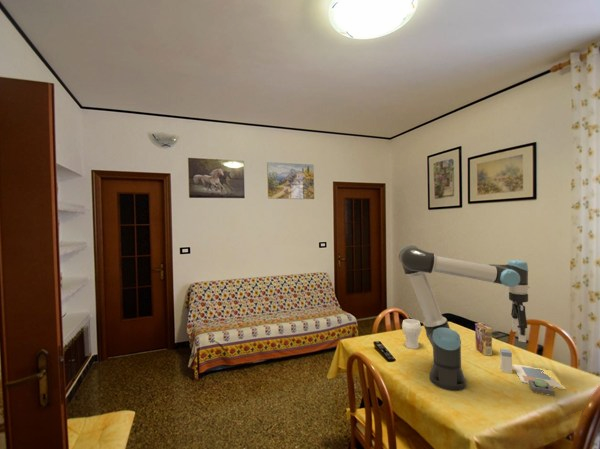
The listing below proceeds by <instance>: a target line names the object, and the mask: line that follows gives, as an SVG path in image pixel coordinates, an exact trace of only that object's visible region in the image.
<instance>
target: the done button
mask: <svg viewBox="0 0 600 449" xmlns="http://www.w3.org/2000/svg"><path fill="white" fill-rule="evenodd" d="M535 386H536V387H540V388H546V389H547V384H546V381H544V380H542V379H535Z"/></svg>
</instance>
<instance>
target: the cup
mask: <svg viewBox="0 0 600 449" xmlns="http://www.w3.org/2000/svg"><path fill="white" fill-rule="evenodd" d="M401 327H402V331H403V334H404V335H405V343H404V344H405V347H406V348H407V349H410V350H411V349H412V350H417V349H419V348H420V347H419V346H420V345H419V336H420V334H421V331H422V325H421V323H420V321H419V320H417V319H414V318H412V319H411V318H406V319H403V320H402V323H401Z"/></svg>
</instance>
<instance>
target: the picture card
mask: <svg viewBox="0 0 600 449" xmlns="http://www.w3.org/2000/svg"><path fill="white" fill-rule="evenodd" d="M512 365H513V366H512V368H513V369H514V371H515V373H516V374H517V377H518V376H519V377H518V378H520V379H519V380H520V382H521V383H522V382H524V383H523V384H528V383H529V380H533V381H535V379H542V380H544V381H546V383H548V384H549V385H550V387H551V388H552V387H557V388H556V389H558V388H563V386H561V385H560V384H559V383H558V382H556V380H555V379H554V378H552V377H549V376H548V375H546V374H544V373H543V372H544V371H543V370H540V369H534V368H532V367H533V366H529V365H522V364H513V363H512ZM542 371H543V372H542ZM541 372H542V373H541Z"/></svg>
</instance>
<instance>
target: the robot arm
mask: <svg viewBox="0 0 600 449" xmlns="http://www.w3.org/2000/svg"><path fill="white" fill-rule="evenodd" d="M398 261H399V262H400V263H401V266H402V269H403V271H404V274H405V275H406V276H407V277H409V280H410V282H411V285H412V288H413V290H414V293H415V296H416V299H417V302H418V305H419V308H420V310H421V313H422V315H423V318H424V321H423V323H422V325H423V328H424V331H425V335H426V337H427V339H428V340H429V342H430V345H431V347H432V354H433V355H432V356H433V357H432V358H433V364H432V367H431V368H430V372H429V379H430V380H429V381H430V382H431V383H432V385H434V386H436V387H438V388H441V389H443V390H447V391H462V390H464V389H465V388H466V387H467V380H466V377H465V374H464V371H463V369H462V348H461V346H462V340H461V336H460V334H459V333H458V332H457V331H456V330H454V329H452V328H450V325H449V322H448V319H447V318H446V317H445V316H443V314H442V312H441V309H440V306H439V304H438V302H437V299H436V295H435V293H434V290H433V288H432V285H431V282H430V279H429V277H428V274H433V273H434V272H435V273H439V274H445V275H450V276H454V277H462V278H467V279H472V280H477V281H482V282H488V283H493V284H499V285H503V286H505V287H507V288H508V300H509V301H511V302H512V304H511V313H510V316H511V318H512V321H511V325H512V326H511V328H512V329H511V330H512V332H513V333H514V332H515V333H518V342H522V343H527V329H528V323H527V315H526V314H527V312H526V306H525V305H524V303H528V302H529V294H528V293H529V289H530V286H529V267H528V262H527V261H525V260H516V259H513V260H508V263H507V264H494V263H493V264H492V263H491V264H490V263H488V264H483V263H479V262H472V261H467V260H461V259H456V258H450V257H444V256H438V255H436V254H435V253H433V252H428V251H426V250H425V251H424V250H422V249H421V248H419V247H417V246H415V245H406V246H404V247H403V248H401V249H400V251H399V253H398ZM427 273H428V274H427Z"/></svg>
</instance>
